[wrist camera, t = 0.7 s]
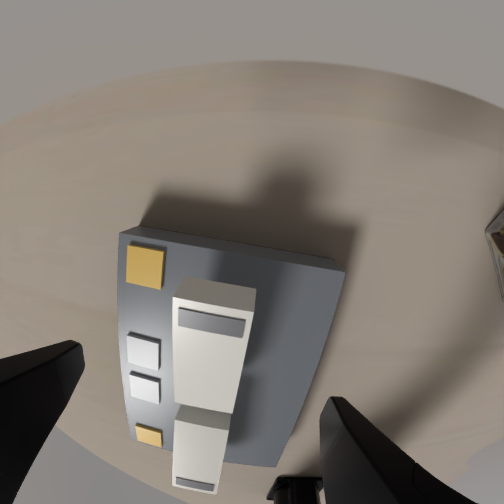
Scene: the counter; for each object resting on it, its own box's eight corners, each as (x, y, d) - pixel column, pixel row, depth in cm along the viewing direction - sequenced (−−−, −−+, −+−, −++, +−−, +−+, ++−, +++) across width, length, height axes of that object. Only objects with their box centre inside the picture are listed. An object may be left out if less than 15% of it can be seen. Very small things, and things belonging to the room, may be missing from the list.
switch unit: (275, 445, 24) (275, 475, 20) (140, 419, 24) (128, 446, 20) (334, 259, 19) (350, 277, 15) (138, 225, 19) (111, 235, 15)
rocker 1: (235, 390, 17) (232, 414, 15) (182, 379, 17) (174, 403, 15) (256, 288, 14) (254, 313, 12) (184, 275, 14) (171, 297, 12)
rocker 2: (218, 478, 18) (216, 495, 16) (177, 470, 18) (172, 486, 16) (231, 414, 18) (228, 431, 16) (181, 404, 18) (174, 420, 16)
